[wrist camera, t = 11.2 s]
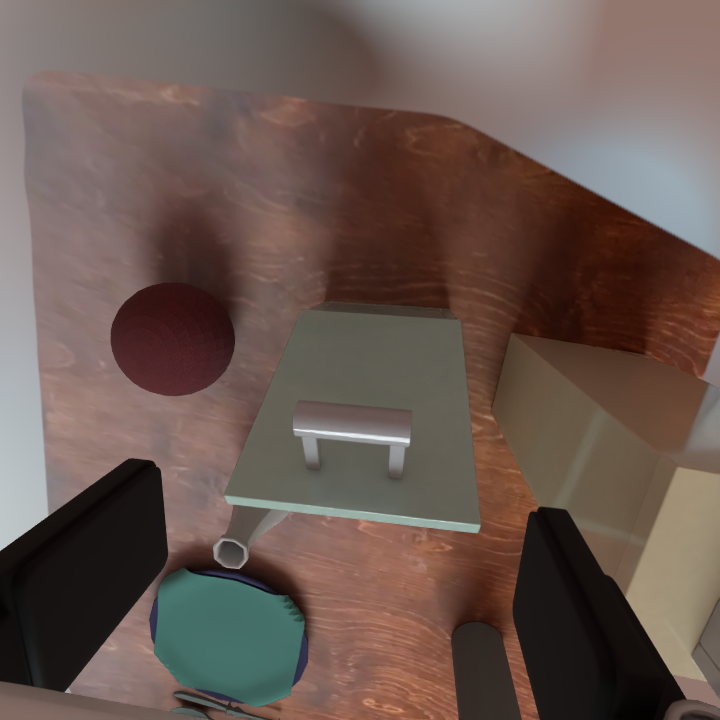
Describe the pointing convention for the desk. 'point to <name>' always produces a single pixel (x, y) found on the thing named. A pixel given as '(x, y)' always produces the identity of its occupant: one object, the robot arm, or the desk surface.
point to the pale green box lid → (365, 424)
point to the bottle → (482, 674)
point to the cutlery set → (228, 640)
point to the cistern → (627, 479)
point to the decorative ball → (172, 339)
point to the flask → (244, 533)
